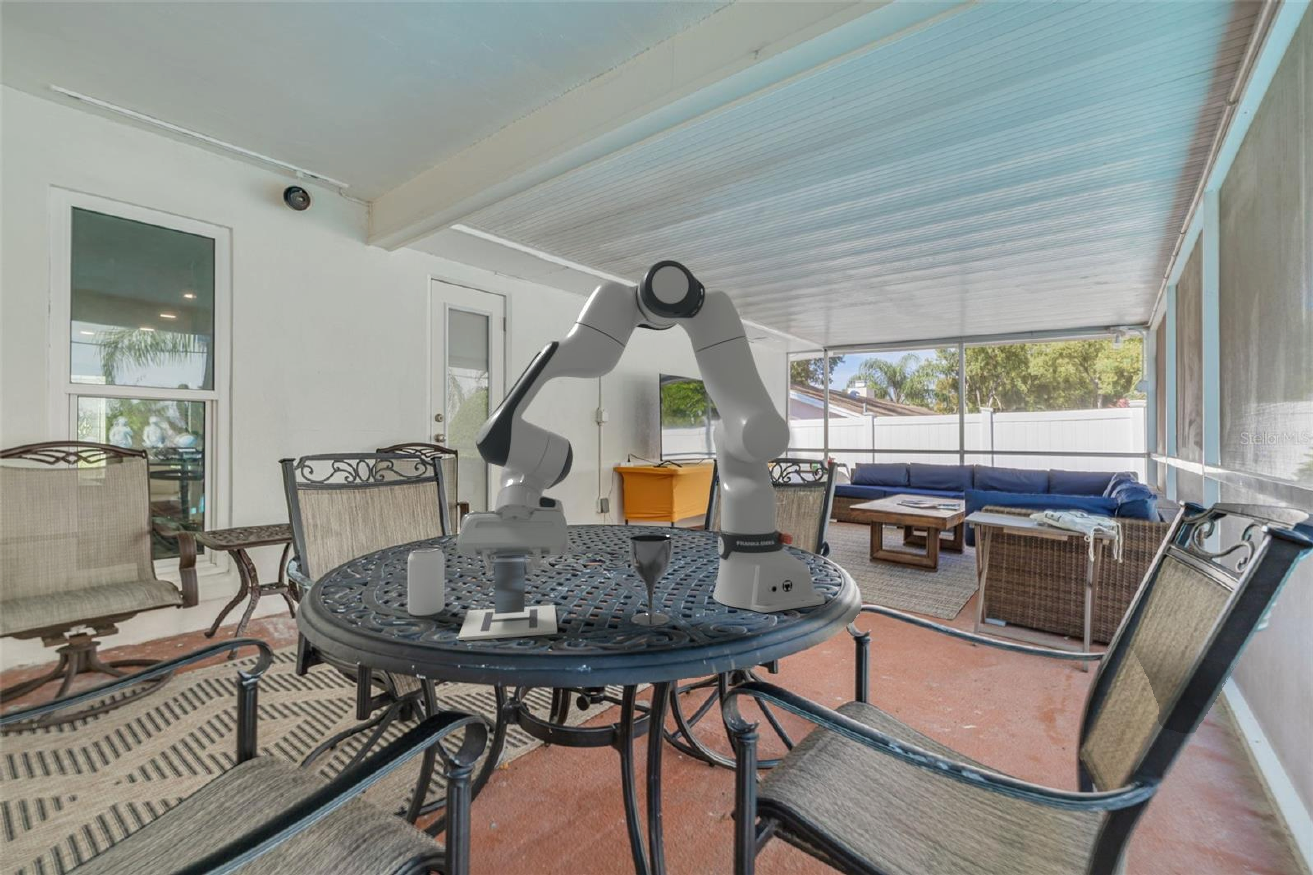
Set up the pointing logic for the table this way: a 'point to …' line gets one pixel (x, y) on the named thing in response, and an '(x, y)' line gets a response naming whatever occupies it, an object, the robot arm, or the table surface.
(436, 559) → the can
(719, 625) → the table surface
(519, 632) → the letter board
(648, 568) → the wine glass
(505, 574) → the slate block
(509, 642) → the table surface
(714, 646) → the table surface
